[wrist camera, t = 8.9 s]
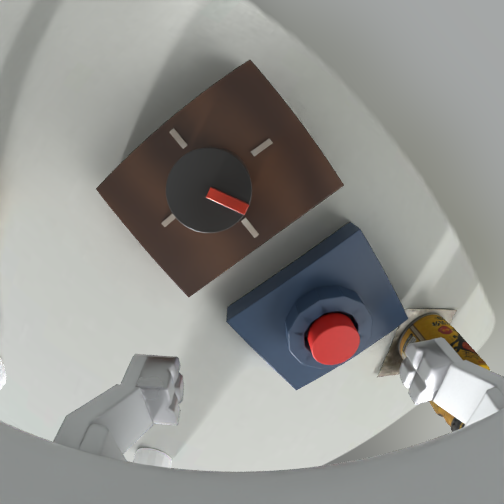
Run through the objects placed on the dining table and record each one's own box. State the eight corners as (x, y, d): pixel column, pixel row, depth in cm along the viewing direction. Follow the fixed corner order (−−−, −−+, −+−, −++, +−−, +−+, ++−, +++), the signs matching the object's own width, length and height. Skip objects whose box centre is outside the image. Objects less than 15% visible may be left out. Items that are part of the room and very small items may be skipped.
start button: (339, 303, 20) (346, 316, 19) (360, 333, 22) (367, 346, 20) (297, 330, 21) (302, 344, 20) (321, 358, 22) (326, 372, 21)
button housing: (350, 221, 22) (369, 236, 18) (398, 306, 25) (417, 330, 21) (227, 306, 24) (224, 335, 21) (293, 375, 27) (298, 404, 24)
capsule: (148, 444, 32) (137, 491, 24) (179, 460, 33) (172, 506, 26) (129, 452, 33) (117, 496, 25) (158, 468, 34) (150, 510, 27)
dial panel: (249, 70, 18) (250, 58, 15) (331, 180, 21) (345, 185, 18) (112, 182, 21) (94, 189, 18) (194, 279, 23) (188, 298, 20)
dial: (168, 200, 18) (151, 214, 15) (197, 136, 17) (185, 133, 13) (231, 228, 19) (229, 248, 15) (262, 166, 18) (267, 170, 14)
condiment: (456, 309, 26) (522, 377, 14) (426, 371, 28) (473, 443, 17) (404, 307, 25) (472, 392, 14) (375, 375, 28) (417, 462, 17)
